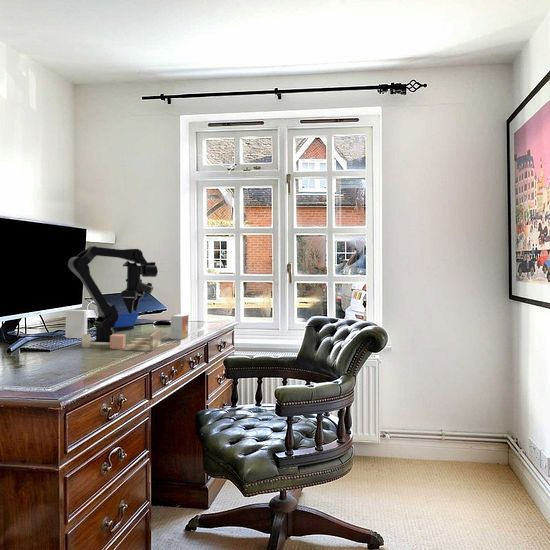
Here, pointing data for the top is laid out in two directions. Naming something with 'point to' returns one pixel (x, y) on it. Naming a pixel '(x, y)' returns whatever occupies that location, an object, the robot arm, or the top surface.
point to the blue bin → (126, 321)
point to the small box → (179, 326)
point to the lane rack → (146, 342)
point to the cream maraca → (115, 342)
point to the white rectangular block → (76, 323)
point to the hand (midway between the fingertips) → (132, 311)
